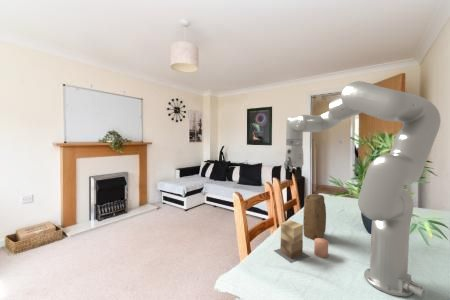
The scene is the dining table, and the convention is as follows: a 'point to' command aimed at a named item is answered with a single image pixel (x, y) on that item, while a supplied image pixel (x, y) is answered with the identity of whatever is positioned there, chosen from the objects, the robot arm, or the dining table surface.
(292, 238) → the tower top
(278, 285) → the dining table surface
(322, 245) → the peach egg-shaped pebble
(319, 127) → the robot arm
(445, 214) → the dining table surface
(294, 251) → the block
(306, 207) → the block
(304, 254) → the mat
